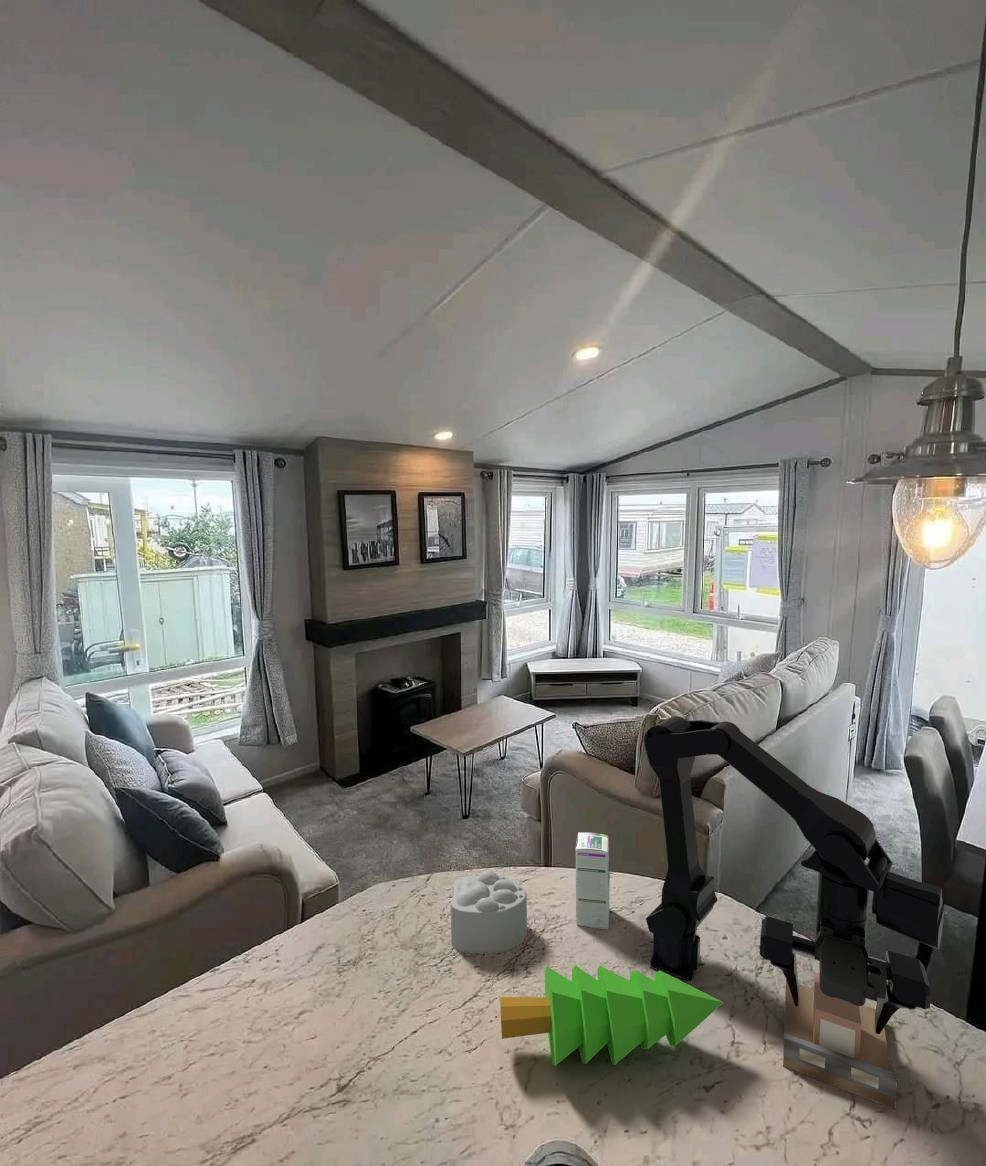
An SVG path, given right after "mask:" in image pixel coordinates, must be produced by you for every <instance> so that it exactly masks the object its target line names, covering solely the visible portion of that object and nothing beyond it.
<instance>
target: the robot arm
mask: <svg viewBox="0 0 986 1166" xmlns="http://www.w3.org/2000/svg"><path fill="white" fill-rule="evenodd" d="M643 745H644V748H645V754H646V757H647V761H648V764H649V766H650V768H651V769H652V771H653V772H654V774H655V775H656V777H657V779H658V784H659V794H660V803H661V813H662V820H663V821H662V822H663V832H664V833H663V835H664V839H665V840H664V843H665V852H666V862H667V863H666V864H667V871H666V874H665V878H664V882H663V885H662V888H661V890H662V891H661V900H660V901H661V902H660V903H659V905H657V906H656V907H655V908H654V910H652V912H651V913H650V914H649V915H648V916H646V918H645V921H646V925H647V928H648V931H649V932H650V934H651V933H652V956H651V958H650V961H649V967H650V968H653V969H655V970H658V971H659V970H660V971H662V972H664V973H666V974H668V975H671V976H675V977H678V978H681V979H683V980H686V981H693V978H694V975H695V974H694V973H695V971H697V970H698V969H699V964H700V959H701V958H700V957H701V937H700V936H699V935H697V933H698V932H697V929H698V927H699V926H700V925H701V924H702V923H703V921H705V919H706V918H707V917H708V916H709V914H710V913H711V912H712V910H713V909H714V905H715V904H716V903H717V902H718V897H717V895H716V892H715V891H716V890H715V883H716V880H715V877H714V876H712V875H707V874H706V873H705V872H704V871H703V869H702V868H701V866H700V863H699V861H700V860H699V852H698V851H699V850H698V843H697V832H696V822H695V811H694V803H693V802H694V801H693V791H692V783H691V774H692V770H693V766H694V762H695V761H696V760H695V759H696V757H698V756H699V757H700V756H707V755H711V756H712V755H715V756H716V755H718V756H719V757H720V758H721V759H723V760H724V761H725V762H726V763H727V764H728V765H730V766H731V767H732V768H733V769H735V771H737V772H738V773H739V774H741V775H742V776H743V778H744V779H747V780H748V781H749V782H750V783H751V784H753V785H754V786H755V787H756V788H757V789H759V791H761V792H762V793H763V794H764V795H766V797H768V798H769V799H770V800H771V801H773V802H774V803H775V804H776V805H778V806H779V807H780V808H781V809H782V810H784V811H785V812H786V813H787V814H788V815H789V816H790V817H791V818H792V819H793V821H794V822H795V824H796V825H797V827H798V829H799V830H800V831H801V833H802V835H803V837H804V839H805V840H806V841H807V842H808V843H809V844H810V845H811V847H813V848H814V849H811V850H808V851H807V852H806V854H805V855H804V856H803V858H802V859H801V861H800V865H801V866H802V867H803V868H807V869H809V870H812V871H815V872H817V884H816V885H817V887H816V888H817V890H816V909H815V926H814V929H815V930H814V931H815V932H814V940H810V939H807V938H804V937H801V936H797V935H794V923H792V922H789V921H785V920H781V919H778V918H775V917H771V916H767V915H766V916H765V917H764V918H762V920H761V926H760V927H761V930H760V939H759V956H760V957H762V958H763V959H764V960H767V961H769V962H770V964H771V966H774V967H775V968H778V969H779V970H781V972H782V974H783V975H784V977H785V981H786V980H787V983H788V986H789V989H790V992H791V995H792V998H793V1001H794V1004H795V1006H797V1007H798V1004H799V986H798V984H799V977H798V964H797V955H798V956H802V957H805V958H809V959H812V960H814V961H819V969H818V970H819V972H818V973H819V974H820V989H821V991H822V992H823V993H824V994H825V995H827V996H829V997H832V998H838V999H841V1000H844V1001H847V1002H850V1003H852V1004H853V1005H856V1006H863V1005H864V1006H865V1004H866V1001H867V1000H870V1001H872V1002H873V1001H874V1002H876V1006H875V1009H876V1011H875V1032H876V1034H880V1033H881V1031H882V1030H883V1028H884V1029H885V1027H886V1025H887V1024H888V1022H889V1021H890V1019H891V1018H892V1017H893V1015H894V1014H895V1013H896V1012H897V1011H898V1010H900V1009H908V1010H912V1011H913V1010H915V1009H916V1008H920V1009H922V1010H927V1009H930V1008H931V998H932V997H931V996H932V992H931V986H930V982H929V979H928V978H929V977H928V975H927V971H926V968H925V965H924V964H923V963H922V962H921V960H920V959H919V958H915V957H912V956H908V955H905V954H903V953H898V952H894V951H891V950H886V951H885V959H884V960H883V959H880V958H876V957H872V956H870V955H869V952H868V949H867V932H868V917H869V901H870V900H869V899H870V898H869V897H870V891H871V892H872V893H873V894H872V901H871V914H872V915H874V916H875V921H876V922H875V923H876V924H877V925H879V926H880V925H881V928H884V929H886V930H889V931H891V932H893V933H896V934H898V935H901V936H904V937H906V938H909V939H912V940H915V941H917V942H919V943H922V944H924V945H926V946H929V947H932V948H934V949H936V950H939V949H940V947H941V940H942V934H943V927H944V926H943V925H944V918H945V917H944V916H945V906H943V889H942V887H940V886H937V885H935V884H931V883H927V882H922V881H918V880H915V879H912V878H909V877H906V876H903V875H901V874H898V873H894V872H891V868H892V867H893V865H894V863H893V861H892V860H891V858H890V857H889V856H888V853H887V852H886V850H884V848H883V847H882V845H881V843H880V842H879V840H878V838H876V836H877V834H876V830H875V825H874V824H873V822H872V821H871V819H870V818H869V817H868V816H867V815H866V814H864V812H861V811H860V810H859V809H856V808H854V806H851V805H849V804H848V803H846V802H844V801H843V800H841V799H840V798H838V797H835V796H832V795H829V794H826V793H823V792H821V791H819V790H818V789H816V788H814V787H812V786H811V785H809V784H808V783H807V782H805V781H804V780H803V779H802V778H801V777H799V776H798V775H797V774H795V773H793V771H792V770H790V769H789V768H788V767H787V766H785V765H784V764H782V763H781V761H779V760H778V759H776V758H775V757H774V756H772V755H771V754H770V753H769V752H768V751H766V750H765V749H764V748H762V747H761V746H760V745H759V744H758V743H757V742H755V741H754V740H752V738H750V737H749V736H747V735H746V734H745V733H743V732H742V731H741V730H740V728H739V727H738V725H737V724H735V723H734V722H731V721H727V720H726V721H711V720H710V721H709V720H704V719H702V720H701V719H700V720H699V719H698V720H693V719H691V720H688V719H685V718H684V717H682V716H678V715H676V716H673V715H672V716H670V717H668V718H666V719H664V720H662V721H660V722H659V723H657V724H655V725H652V726H651V727H649V728H648V729H647V730H646V732H645V733H644V736H643ZM867 859H868V861H867V863H866V860H867Z"/></svg>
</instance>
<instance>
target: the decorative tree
mask: <svg viewBox="0 0 986 1166" xmlns="http://www.w3.org/2000/svg"><path fill="white" fill-rule="evenodd" d="M596 971H597V978H595V977H593V976H592V975H591V974H590V973H588V972H586V971H585V970H583V969H582V968H580V967H579V966H578V965H574V966H573V967H572V968H571V980H570V979H569V978H568V977H565V976H564V975H562V974H561V973H559V972H557V971H555V970H554V969H552V968H551V967H549V966H547V967H546V968H545V970H544V990H545V991H544V996H540V997H539V996H533V997H532V996H500V997H499V1007H500V1010H499V1011H500V1023H501V1025H500V1028H501V1030H500V1031H501V1039H502V1040H503V1039H510V1038H511V1039H512V1038H518V1037H526V1036H533V1035H534V1036H535V1035H541V1034H542V1035H543V1034H547V1036H548V1042H549V1043H548V1044H549V1050H550V1056H551V1063H552V1066H556V1067H557V1065H558V1064H560V1063H561V1062H562V1061H563V1060H564V1059H566V1057H569V1056H570V1054H571V1053H573V1052H574V1051H575V1050H576V1049H578V1050H579V1054H580V1059H581V1064H585V1065H586V1064H587V1063H589V1061H591V1060H592V1058H594V1057H595V1055H597V1054H598V1053H599V1052H600V1051H601V1050H602V1049H603V1048H604V1047H605V1046H607V1050H608V1054H609V1059H610V1063H611V1065H617V1064H618V1063H619V1062H620V1061H621V1060H623V1058H625V1057H626V1056H627V1055H628V1054H630V1053H631V1052H632V1051H633V1050H634V1049H636V1048H637V1047H638V1046H639V1045H640V1049H641V1050H649V1049H650V1048H652V1046H654V1045H655V1044H656V1043H658V1042H659V1041H661V1039H662V1038H663V1037H665V1036H666V1039H667V1041H668V1044H669V1047H676V1046H677V1045H679V1044H680V1043H681V1042H682V1041H683V1040H684V1039H685V1038H686V1037H687V1036H688V1035H689V1034H690V1033H692V1032H693V1031H694V1030H695V1029H696V1028H697V1027H698V1026H699V1025H700V1024H701V1023H703V1022H704V1021H705V1020H706V1019H707V1018H708V1017H710V1015H711V1014H713V1013H714V1012H715V1011H717V1009H718V1008H720V1006H721V1005H723V1004H724V1002H723V1001H721V1000H720V999H717V998H716V997H714V996H712V995H709V994H707V993H706V992H704V991H701V990H699V989H698V988H696V987H694V986H692V985H690V984H688V983H685V982H684V981H681V980H680V979H678V978H676V977H673V975H671V974H669V973H666V972H663V971H660V970H658V971H656V972H655V973H654V976H655V977H654V978H655V979H652V978H651V977H649V976H647V975H645V974H644V973H642V972H640V971H638V970H637V969H634V970H632V971H630V973H629V979H627V978H626V977H623V976H622V975H620V974H618V973H615V972H614V971H611V970H610V969H608V968H607V967H604V966H601V965H599V967H598V968H597V969H596Z"/></svg>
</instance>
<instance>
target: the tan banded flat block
mask: <svg viewBox="0 0 986 1166" xmlns="http://www.w3.org/2000/svg"><path fill="white" fill-rule="evenodd" d="M798 986H799V1004H798V1007H797V1006H795V1004H794V1001H793V998H792V995H791V992H790V989H789V986H788V983H787V980H786V979H785V993H784V994H785V997H784V1023H783V1027H784V1028H783V1029H784V1031H783V1033H784V1034H783V1055H782V1057H783V1058H782V1066H783V1067H785V1068H788V1069H790V1070H792V1071H795V1072H797V1073H799V1074H802V1075H805V1076H807V1077H811V1078H813V1079H815V1080H818V1081H820V1082H823V1083H826V1084H829V1085H831V1086H833V1087H836V1088H837V1089H841V1090H843V1091H846V1092H848V1093H851V1094H854V1095H856V1096H859V1097H861V1098H864V1099H867V1100H870V1101H872V1102H874V1103H877V1104H880V1105H883V1106H884V1107H887V1108H890V1109H892V1110H896V1100H897V1083H898V1077H897V1073H895V1072H893V1071H892V1068H891V1061H890V1055H889V1050H888V1043H887V1037H886V1036H887V1035H886V1029H885V1027H884V1028H883V1030H882V1031H881V1033H880V1034H876V1032H875V1011H876V1008H873V1007H870V1006H867V1005H865V1004H864V1005H863V1006H859V1010H860V1018H861V1038H860V1056H859V1060H857V1059H854V1058H852V1057H849V1056H846V1055H843V1054H841V1053H838V1052H835V1051H832V1050H830V1049H827V1048H824V1047H821V1046H819V1045H816V1044H813V1013H812V1010H813V990H814V988H812V987H808V986H805V985H803V984H799V983H798Z"/></svg>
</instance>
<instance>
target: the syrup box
mask: <svg viewBox="0 0 986 1166" xmlns="http://www.w3.org/2000/svg"><path fill="white" fill-rule="evenodd" d="M609 840H610V839H609V835H608V834H605V833H604V834H603V833H597V832H581V831H580V832H578V833H577V837H576V843H575V900H576V901H575V904H576V905H575V906H576V907H575V908H576V909H575V911H576V912H575V913H576V917H575V918H576V919H575V921H576V925H577V926H580V927H586V928H594V929H600V930H601V929H603V930H609V926H610V884H611V883H610V882H611V881H610V876H611V875H610V848H609V847H610V844H609V843H610V841H609Z"/></svg>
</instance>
